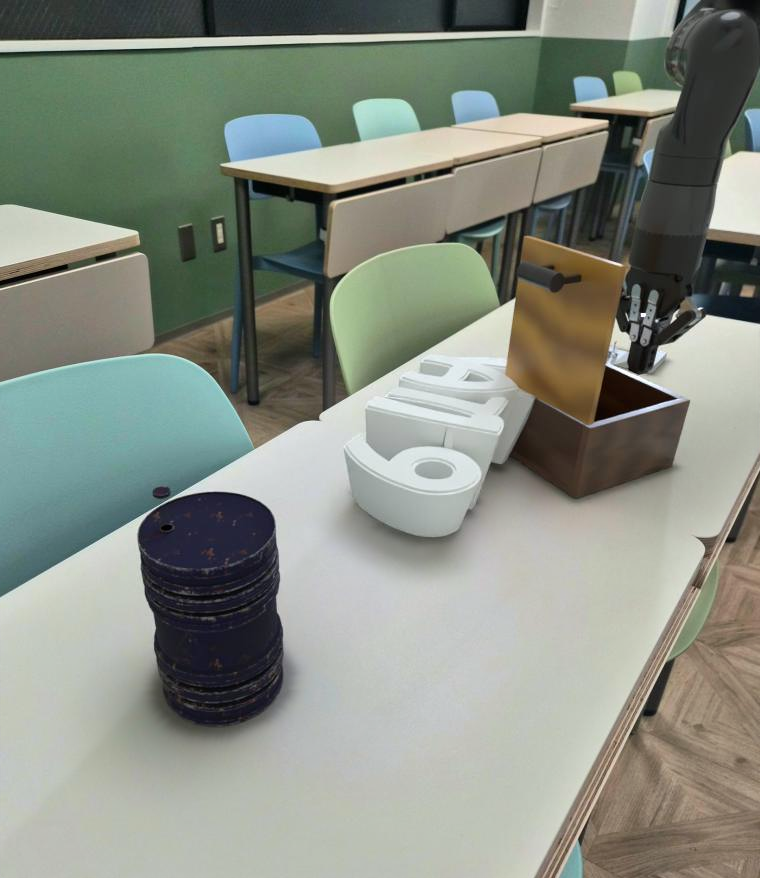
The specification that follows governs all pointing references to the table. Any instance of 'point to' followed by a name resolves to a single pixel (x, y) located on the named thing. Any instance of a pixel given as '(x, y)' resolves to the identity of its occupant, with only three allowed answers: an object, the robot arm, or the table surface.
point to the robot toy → (621, 357)
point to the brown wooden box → (604, 436)
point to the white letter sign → (435, 442)
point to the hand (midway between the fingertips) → (637, 371)
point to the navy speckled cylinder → (214, 604)
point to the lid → (563, 325)
